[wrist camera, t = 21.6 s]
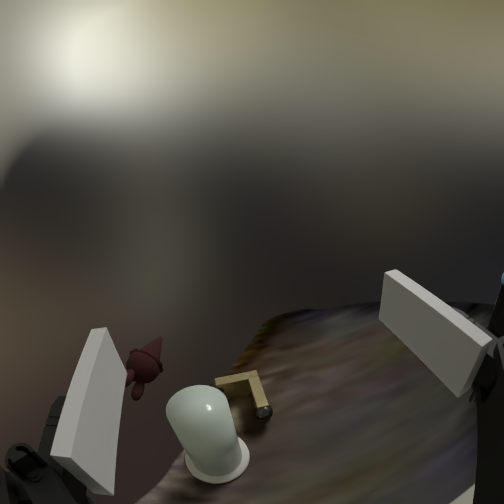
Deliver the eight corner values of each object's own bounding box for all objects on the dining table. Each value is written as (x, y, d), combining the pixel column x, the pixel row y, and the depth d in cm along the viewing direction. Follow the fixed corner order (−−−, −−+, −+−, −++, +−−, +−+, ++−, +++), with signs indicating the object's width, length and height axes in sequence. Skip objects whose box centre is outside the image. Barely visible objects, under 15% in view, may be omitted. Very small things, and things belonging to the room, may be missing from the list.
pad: (242, 428, 37) (242, 426, 37) (256, 477, 29) (255, 475, 29) (183, 437, 36) (183, 436, 35) (189, 487, 27) (188, 486, 27)
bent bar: (260, 383, 46) (258, 367, 44) (275, 425, 37) (274, 410, 36) (211, 393, 45) (206, 377, 43) (218, 437, 36) (213, 423, 34)
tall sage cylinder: (236, 433, 36) (222, 380, 32) (247, 471, 29) (233, 425, 25) (190, 441, 35) (165, 390, 30) (195, 479, 28) (166, 435, 24)
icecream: (139, 325, 54) (102, 378, 41) (166, 322, 52) (129, 380, 39) (156, 350, 57) (125, 403, 44) (183, 348, 54) (153, 406, 41)
